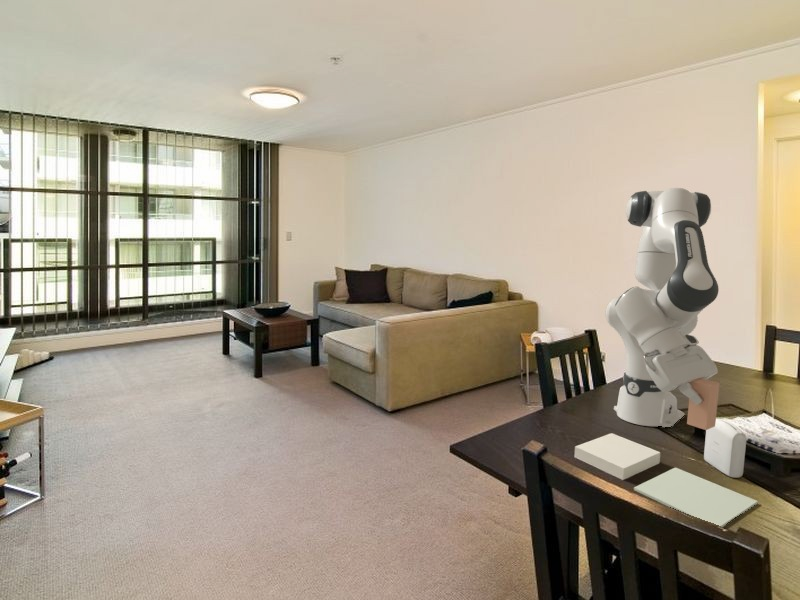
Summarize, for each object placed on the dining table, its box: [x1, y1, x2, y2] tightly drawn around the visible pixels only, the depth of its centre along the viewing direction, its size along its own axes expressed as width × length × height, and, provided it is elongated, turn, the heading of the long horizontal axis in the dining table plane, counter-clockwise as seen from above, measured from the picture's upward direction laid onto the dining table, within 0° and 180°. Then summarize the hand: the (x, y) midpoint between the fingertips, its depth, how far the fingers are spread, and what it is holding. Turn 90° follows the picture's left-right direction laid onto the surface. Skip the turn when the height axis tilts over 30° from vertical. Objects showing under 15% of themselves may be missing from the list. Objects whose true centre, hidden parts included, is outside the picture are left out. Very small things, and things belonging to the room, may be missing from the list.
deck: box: [573, 432, 661, 481], centre depth 126 cm, size 16×14×3 cm
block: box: [686, 378, 720, 431], centre depth 106 cm, size 4×4×10 cm
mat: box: [633, 467, 759, 528], centre depth 109 cm, size 18×18×1 cm
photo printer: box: [703, 418, 747, 479], centre depth 121 cm, size 10×4×12 cm, turn 3°
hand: (706, 400), depth 105 cm, fingers closed on block, 4 cm apart
